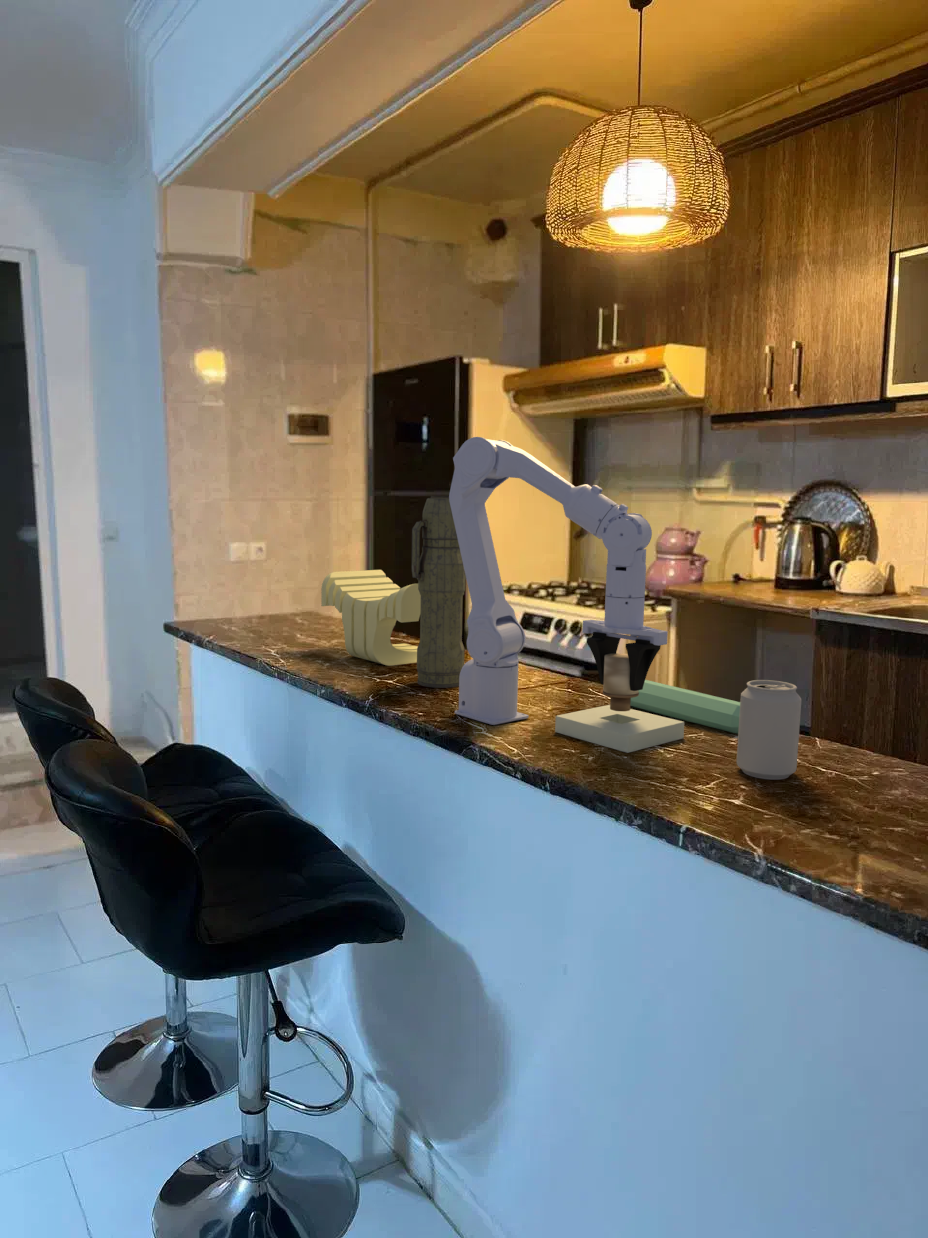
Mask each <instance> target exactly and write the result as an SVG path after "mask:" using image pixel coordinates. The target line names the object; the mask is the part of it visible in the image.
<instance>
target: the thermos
mask: <svg viewBox="0 0 928 1238" xmlns="http://www.w3.org/2000/svg"><path fill="white" fill-rule="evenodd" d="M421 528H422V529H421ZM421 530H422V531H421ZM421 534H422V536H421ZM421 538H422V540H423V541H422V546H421V548H420V545H421V544H420V543H421ZM420 549H421V552H420ZM420 553H421V554H420ZM411 574H412V575H411V576H412V578H413V579H414V578H415V579H416V580H417V584H418V590H419V592H420V595H421V610H420V617H419V620H420V622H419V623H420V625H419V628H420V629H419V631H420V632H419V643H418V648H417V662H416V671H417V682H416V683H417V685H419V686H422V687H426V688H439V689H440V688H441V689H442V688H443V689H445V688H446V689H447V688H456V687H459V677H460V672H461V669H462V667H463V666H464V664H465V646H464V644H463V641H462V640H463V639H462V638H463V637H462V636H463V596H464V595H465V591H466V580H467V579H466V575H465V570H464V566H463V561H462V556H461V552H460V547H459V543H458V538H457V533H456V529H455V524H454V520H453V515H452V511H451V506H450V501H449V496H447V495H445V496H443V495H430V497H428V498H426V501H425V503H424V506H423V510H422V520H419V521H416V522H415V524H414V526H413V527H412V528H411Z"/></svg>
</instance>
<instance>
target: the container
mask: <svg viewBox="0 0 928 1238" xmlns="http://www.w3.org/2000/svg"><path fill="white" fill-rule="evenodd" d="M630 707H632V708H637V709H641V710H644V711H648V712H652V713H656V714H659V715H663V716H665V717H666V716H668V717H669V718H673V719H674V718H675V719H677V720H681V721H682V720H683V721H684V722H685V721H686V722H689V723H693V724H697V725H701V726H706V727H710V728H714V729H718V730H720V731H725V732H730V733H733V734H738V732H739V716H740V701H736V700H731V699H728V698H723V697H719V696H714V695H711V694H707V693H704V692H703V693H702V692H699V691H695V690H691V689H687V688H686V689H685V688H681V687H678V686H673V685H669V684H666V683H665V684H664V683H660V682H656V681H653V680H648V679H645V682H644V686H643V689H642V690H639V696H637V697H633V698H631V705H630Z"/></svg>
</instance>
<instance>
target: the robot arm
mask: <svg viewBox="0 0 928 1238" xmlns="http://www.w3.org/2000/svg"><path fill="white" fill-rule="evenodd" d="M452 460H453V464H454V470H453V475H452V479H451V484H450V490H449V494H448V495H449V501H450V506H451V511H452V515H453V520H454V524H455V529H456V533H457V538H458V543H459V547H460V552H461V556H462V561H463V566H464V570H465V575H466V579H465V580H466V583H467V588H468V593H469V597H470V602H471V610H470V612H469V614H468V617H467V620H466V623H467V627H468V631H467V632H468V635H467V639H466V648H467V649H466V650H467V652H468V654H469V656H470V657H471V658H472V659H470V660H468V661H466V662H464V666H463V667H462V669H461V672H460V677H459V686H458V709H456V710H454V714H456V715H458V716H461V717H463V718H469V719H471V720H474V721H477V722H480V723H484V724H489V725H491V726H492V725H493V726H496V725H501V724H506V723H510V722H515V721H520V720H525V719H529V714H525V713H523V712H519V711H518V695H519V694H518V692H519V690H518V689H519V688H518V687H519V661H520V660H519V657H518V655H519V653H520V652H521V651H522V650H523V649H524V646H525V643H526V634H525V631H524V628H523V626H522V625H521V624H520V623H519V621H518V620H517V617H516V613H515V610H514V608H513V607H512V606H511V605H510V603H509V602H508V601H507V599H506V597H505V591H504V588H503V583H502V579H501V573H500V569H499V564H498V560H497V555H496V550H495V547H494V542H493V536H492V532H491V527H490V522H489V518H488V514H487V509H486V502H487V501H488V499H489V497H490V496H491V495H492V493H493V492H494V491H495V489H496V488H498V487H499V486H501V484H502V483H504V482H506V481H507V480H508V479H509V478H515V479H521V480H522V481H524V482H526V483H527V484H528V485H530V486H532V487H534V488H535V489H536V490H538V491H540V492H542V493H544V494H545V495H547V496H548V497H550V498H552V499H553V500H555V501H557V502H558V503H560V504H561V505H562V508H563V511H564V515H565V517H566V518H567V519H569V520H571V521H572V522H573V523H575V524H576V525H578V526H579V527H581V528H583V530H585V531H587V532H588V533H590V534H591V535H593V536H594V537H595V538H598V539H599V540H601V541H602V543H603V545H604V547H605V549H606V550H607V563H606V573H605V574H606V576H605V577H606V579H605V596H604V597H605V599H604V600H605V601H604V603H605V604H604V620H597V619H586V620H585V619H584V620H582V630H581V631H582V634H592V635H591V637H587V638H586V644H587V646H588V648H589V649H590V651H591V654H592V656H593V658H594V661H595V665H596V668H597V672H598V677H599V678H598V679H599V683H600V684H601V685H603V684H604V657H605V655H607V654H615V653H617V651H618V648H619V645H620V641H621V639H623V640H630V641H634V642H630V643H625V649H626V654H628V658H629V666H630V690H631V691H637V690H642V689H643V686H644V682H645V680H647V675H648V673H649V670H650V667H651V666H652V663H653V661H654V659H655V658H656V656H657V654H658V653H659V651H660V650H661V646H663V645H664V646H665V645H668V633H669V632H668V630H662V629H658V628H653V627H651V626H647V625H644V619H645V617H644V616H645V599H646V598H645V596H646V581H647V580H646V578H647V577H646V576H647V564H646V563H647V561H646V560H647V547H648V545H649V544H650V543H651V540H652V535H653V532H652V531H653V530H652V527H651V524H650V523H649V521H648V520H647V519H646V518H645V517H644V516H643V515H642V514H641V513H636V512H632V513H631V512H630V513H628V510H629V506H628V505H626V504H625V503H621V504H620V505H619V504H618V503H617V502H615V501H614V500H613V499H611V498H609V497H607V496H606V495H605V494H603V493H602V491H603V488H602V487H600V486H599V485H596V484H593V485H592V486H591V485H589V484H588V483H587V484H581V485H578V486H575V485H574V484H572V483H571V482H569V481H568V480H567V479H565V478H564V477H562V476H561V475H560V474H559V473H557V472H555V471H554V470H553V469H551V468H550V467H549V466H547V465H546V464H544V463H543V462H541V461H540V460H539V459H537V458H536V457H534V455H532V454H530V453H529V452H527V451H525V450H524V449H522V448H520V447H517V446H514V445H513V444H511V443H510V442H509V441H506V440H503V439H498V440H496V439H495V440H494V439H488V438H485V437H482V436H474V437H473V436H472V437H471V438H469V439H467V440H465V441H464V443H462V444H461V446H460V448H458V450H457V452H456V453H455V455H454V456H453V457H452Z"/></svg>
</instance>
